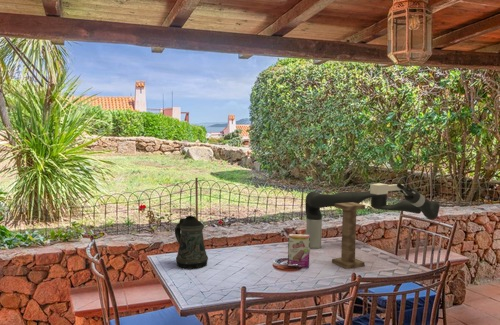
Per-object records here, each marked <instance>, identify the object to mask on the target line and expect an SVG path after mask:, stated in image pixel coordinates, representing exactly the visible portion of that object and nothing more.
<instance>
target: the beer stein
mask: <svg viewBox="0 0 500 325" xmlns="http://www.w3.org/2000/svg"><path fill="white" fill-rule="evenodd" d="M204 227H205V226H204V224H203V223H202V222H201V221H200V220H198V219H197V217H196V216H194V215H187V216H186V217H185V218H182V217H181V218H180V220H179V221H178V223H177V224H175V228H174V237H175V239H176V241H177V243H178V251H177V255H176V257H175V262H176V266H177V268H180V269H183V268H184V270H197V269H202V268H205V267H207V266H208V260H209V256H208V254H207V252H206V251H207V250H206V247H205V241H204V240H205V239H204V232H203V231H204V230H203V229H204Z"/></svg>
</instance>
